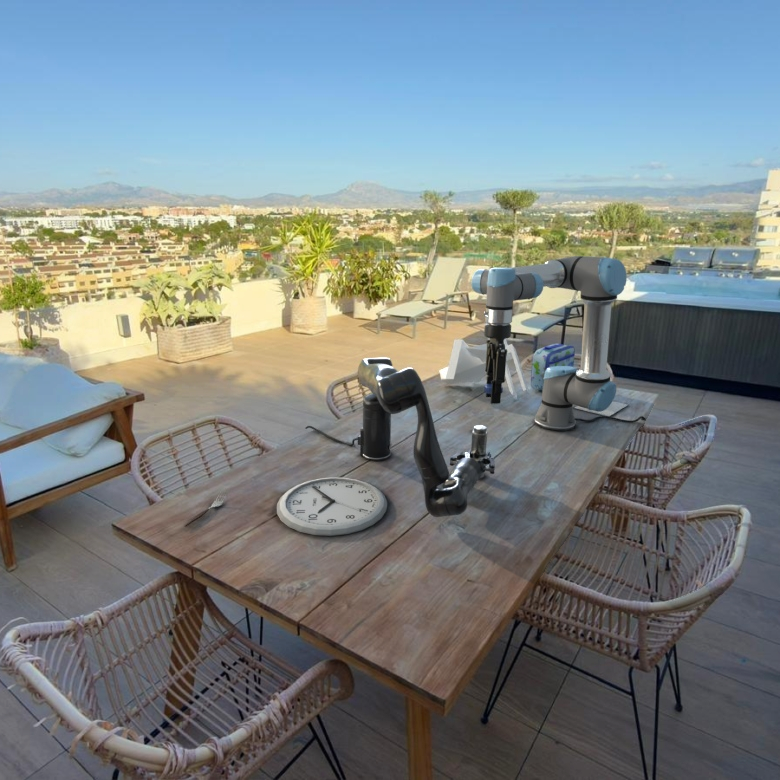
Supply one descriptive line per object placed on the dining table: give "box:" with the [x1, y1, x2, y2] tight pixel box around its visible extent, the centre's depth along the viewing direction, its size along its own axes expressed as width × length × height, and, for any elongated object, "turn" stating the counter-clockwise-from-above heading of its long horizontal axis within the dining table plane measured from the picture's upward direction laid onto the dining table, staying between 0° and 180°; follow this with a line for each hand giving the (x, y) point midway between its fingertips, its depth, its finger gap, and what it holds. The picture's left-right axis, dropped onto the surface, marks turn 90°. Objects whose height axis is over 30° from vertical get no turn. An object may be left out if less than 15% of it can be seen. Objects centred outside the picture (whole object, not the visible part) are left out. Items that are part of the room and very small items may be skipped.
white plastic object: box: [438, 338, 531, 400], centre depth 245 cm, size 37×45×31 cm
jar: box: [470, 424, 488, 480], centre depth 159 cm, size 4×4×16 cm
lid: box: [483, 383, 504, 394], centre depth 156 cm, size 5×5×2 cm
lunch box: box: [530, 343, 576, 391], centre depth 249 cm, size 26×11×21 cm, turn 134°
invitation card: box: [573, 400, 629, 417], centre depth 226 cm, size 21×1×15 cm
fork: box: [184, 492, 228, 527], centre depth 137 cm, size 3×16×2 cm, turn 160°
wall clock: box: [276, 476, 388, 537], centre depth 142 cm, size 30×2×30 cm
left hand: (480, 453), depth 162 cm, fingers closed on jar, 4 cm apart
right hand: (492, 399), depth 157 cm, fingers closed on lid, 5 cm apart
